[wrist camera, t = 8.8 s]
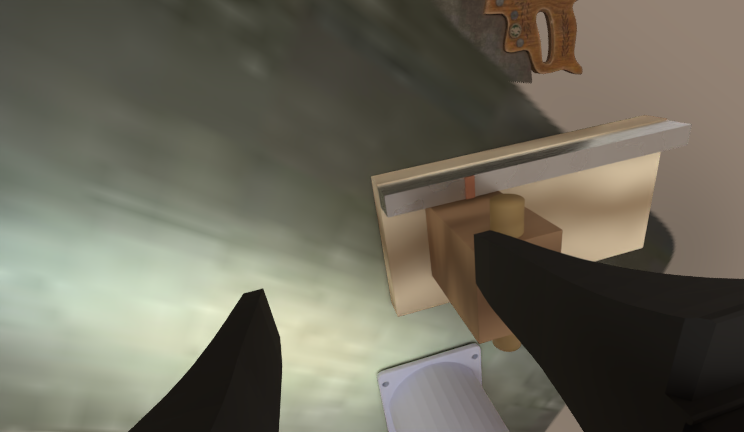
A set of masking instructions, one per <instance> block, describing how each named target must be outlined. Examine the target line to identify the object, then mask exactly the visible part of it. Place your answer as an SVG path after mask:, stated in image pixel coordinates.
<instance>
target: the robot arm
mask: <svg viewBox="0 0 744 432" xmlns="http://www.w3.org/2000/svg"><path fill="white" fill-rule="evenodd" d="M474 256H475V280H476V285H477V286H478V288H479V290H480V291H481V293H482V294H483V296H484V298H485V299H486V301H487V302H488V304H489V305H490V307H491V308H492V309H493V310H494V312H495V313H496V314H497V315H498V316H499V318H500V319H501V320H502V321H503V322H504V324H505V325H506V326H507V327H508V328H509V329H510V331H511V332H512V333H513V334H514V335H515V336H516V338H517V339H518V340H519V341H520V342H521V343H522V345H523V346H524V347H525V348H526V349H527V350H528V352H529V353H530V354H531V355H532V356H533V358H534V359H535V360H536V362H537V363H538V364H539V365H540V367H541V368H542V369H543V371H544V372H545V374H546V375H547V377H548V378H549V380H550V381H551V383H552V384H553V385H554V387H555V388H556V390H557V391H558V393H559V394H560V396H561V397H562V399H563V400H564V402H565V403H566V405H567V406H568V408H569V409H570V411H571V413H572V414H573V416H574V417H575V419H576V420H577V422H578V423H579V425H580V427H581V428H582V430H583V431H584V432H744V279H727V278H704V277H693V276H681V275H671V274H662V273H654V272H647V271H641V270H634V269H628V268H622V267H617V266H612V265H607V264H603V263H598V262H593V261H589V260H585V259H581V258H577V257H574V256H570V255H567V254H563V253H560V252H557V251H553V250H550V249H547V248H544V247H541V246H538V245H535V244H532V243H529V242H526V241H523V240H520V239H517V238H515V237H512V236H509V235H506V234H502V233H499V232H496V231H492V230H488V231H485V232H481V233H477V234H474ZM377 380H378V385H379V390H380V394H381V399H382V404H383V409H384V414H385V418H386V423H387V428H388V432H510V431H509V430H508V428H507V427H506V425H505V423H504V422H503V420H502V418H501V417H500V415H499V413H498V412H497V410H496V409H495V407H494V405H493V404H492V402H491V400H490V399H489V397H488V395H487V394H486V392H485V391H484V389H483V387H482V371H481V349H480V347H479V345H478V344H476V343H473V344H469V345H466V346H462V347H459V348H456V349H453V350H449V351H446V352H443V353H439V354H436V355H433V356H429V357H426V358H423V359H419V360H416V361H413V362H409V363H406V364H403V365H400V366H396V367H393V368H390V369H386V370H383V371H381V372H379V373H378V375H377ZM386 381H387V382H386ZM281 382H282V355H281V343H280V336H279V333H278V330H277V327H276V324H275V321H274V319H273V316H272V313H271V310H270V307H269V304H268V301H267V298H266V295H265V292H264V290H263V289H259V290H256V291H252V292H248V293H244V294H243V295H242V297H241V298H240V300H239V301H238V303H237V304H236V306H235V307H234V309H233V310H232V312H231V313H230V315H229V316H228V318H227V319H226V321H225V322H224V324H223V325H222V327H221V328H220V330H219V331H218V333H217V334H216V335H215V337H214V338H213V340H212V341H211V342H210V344H209V345H208V346H207V348H206V349H205V350H204V352H203V353H202V354H201V355H200V357H199V358H198V359H197V361H196V362H195V363H194V364H193V366H192V367H191V368H190V369H189V370H188V372H187V373H186V374H185V375H184V376H183V377H182V378H181V380H180V381H179V382H178V383H177V384H176V385H175V386H174V387H173V388H172V389H171V390H170V392H169V393H168V394H167V395H166V396H165V397H164V398H163V399H162V400H161V401H160V402H159V403H158V404H157V405H156V406H155V407H153V408H152V409H151V410H150V411H149V412H148V413H147V414H146V415H145V416H144V417H143V418H142V419H141V420H140V421H139V422H138V423H137V424H136V425H135V426H134V427H133V428H131V429H130V430H129V431H128V432H279V418H280V400H281Z"/></svg>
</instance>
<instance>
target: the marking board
mask: <svg viewBox="0 0 744 432" xmlns="http://www.w3.org/2000/svg"><path fill="white" fill-rule="evenodd" d="M691 126H692V124H687V123H681V122H674V121H668V120H667V119H666V118H660V117H654V116H647V115H643V116H638V117H634V118H629V119H625V120H620V121H616V122H611V123H607V124H603V125H598V126H594V127H589V128H585V129H580V130H576V131H571V132H567V133H562V134H558V135H553V136H549V137H545V138H540V139H536V140H531V141H527V142H522V143H518V144H513V145H509V146H504V147H500V148H495V149H491V150H487V151H482V152H478V153H473V154H469V155H464V156H460V157H455V158H451V159H446V160H442V161H438V162H433V163H429V164H424V165H420V166H415V167H411V168H406V169H402V170H397V171H393V172H388V173H384V174H380V175H375V176H371V181H372V187H373V193H374V199H375V205H376V211H377V217H378V223H379V229H380V235H381V241H382V247H383V253H384V260H385V266H386V272H387V278H388V284H389V290H390V296H391V302H392V305H393V307H394V309H395V311H396V314H397V316H398V317H399V316H403V315H406V314H410V313H414V312H417V311H421V310H424V309H428V308H431V307H435V306H438V305H442V304H445V303H449V302H450V301H449V300H448V298H447V297H446V295H445V294H444V292H443V291H442V289H441V288H440V287H439V285H438V284H437V282H436V281H435V279H434V278H433V276H432V271H431V262H430V252H429V242H428V232H427V222H426V213H425V209H426V208H430V207H434V206H438V205H442V204H446V203H450V202H455V201H459V200H463V199H471V198H475V196H479V195H484V194H488V193H492V192H496V191H500V192H501V193H503V194H517V195H520V196H522V197H523V198H524V199H525V207H526V208H528V209H529V210H531V211H533V212H534V213H536V214H538V215H539V216H541V217H542V218H544V219H546V220H547V221H549V222H551V223H552V224H554V225H556V226H557V227H559V228H561V229H562V230H563V233H562V246H561V253H563V254H567V255H570V256H574V257H577V258H581V259H585V260H589V261H593V262H594V261H598V260H601V259H605V258H608V257H612V256H615V255H619V254H622V253H626V252H629V251H633V250H636V249H640V248H643V244H644V238H645V233H646V228H647V223H648V217H649V212H650V207H651V201H652V196H653V190H654V185H655V180H656V175H657V169H658V164H659V159H660V153H661V151H665V150H669V149H674V148H678V147H682V146H686V145H687V144H688V140H689V135H690V131H691Z"/></svg>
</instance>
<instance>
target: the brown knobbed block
mask: <svg viewBox="0 0 744 432" xmlns="http://www.w3.org/2000/svg"><path fill="white" fill-rule="evenodd" d="M425 213H426V222H427V232H428V242H429V252H430V262H431V271H432V276H433V278H434V279H435V281H436V282H437V284H438V285H439V287H440V288H441V289H442V291H443V292H444V294H445V295H446V297H447V298H448V300H449V301H450V302H451V304H452V305H453V307H454V308H455V310H456V311H457V313H458V314H459V315H460V317H461V318H462V320H463V321H464V323H465V324H466V326H467V327H468V328H469V330H470V331H471V333H472V334H473V336H474V337H475V339H476V340H477V341H478V343H479V344H481V343H484V342H488V341H491V340H492V342H493V344H494V346H495V347H496V348H498V349H500V350H502V351H506V352H511V351H515V350H517V349H519V348H520V346H521V342H520V341H519V340H518V339H517V338H516V336H515V335H514V334H513V333H512V332H511V331H510V329H509V328H508V327H507V326H506V325H505V324H504V322H503V321H502V320H501V319H500V318H499V316H498V315H497V314H496V313H495V312H494V310H493V309H492V308H491V307H490V305H489V304H488V302H487V301H486V299H485V298H484V296H483V294H482V293H481V291H480V290H479V288H478V286H477V285H476V280H475V256H474V234H477V233H481V232H485V231H488V230H492V231H496V232H499V233H502V234H506V235H509V236H512V237H515V238H517V239H520V240H523V241H526V242H529V243H532V244H535V245H538V246H541V247H544V248H547V249H550V250H553V251H557V252H560V253H561V246H562V233H563V230H562V229H561V228H559V227H557V226H556V225H554V224H552V223H551V222H549V221H547V220H546V219H544V218H542V217H541V216H539V215H538V214H536V213H534V212H533V211H531V210H529V209H528V208H526V207H525V199H524V198H523V197H522V196H520V195H517V194H503V193H501V192H500V191H496V192H492V193H488V194H484V195H479V196H475V198H471V199H463V200H459V201H455V202H450V203H446V204H442V205H438V206H434V207H430V208H426V209H425Z"/></svg>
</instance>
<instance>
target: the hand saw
mask: <svg viewBox="0 0 744 432" xmlns="http://www.w3.org/2000/svg"><path fill="white" fill-rule="evenodd" d="M432 1H433V2H434V4H435V6H436V7H437V8H438V9H440V10H441V11H442V12H443V13H444V15H445V16H446V18H447V19H449V20H450V21H451V22H452V23H453V24H454V26H455V27H456V28H457V29H458V30H459V31H461V32H462V33H463V34H464V35H465V37H466V38H467V39H468V40H469V41H471V42H472V43H473V44H474V45H476V47H477V48H478V49H479V50H480V51H481V52H483V53H484V54H485V55H487V56H488V57H489V58H490V60H491V61H492V62H494V63H495V64H496V65H498V66H499V67H500V68H501V69H502V70H503V72H504V73H506V74H507V75H508V76H509V77H511V79H512V80H513V81H515V83H516V81H517V83H518V82H519V83H520V82H521V83H522V82H523V83H524V82H525V83H532V74H531V70H532V71H533V72H534V73H539V74H546V73H551V72H555V71H559V70H564V71H566V72H568V73H571V74H582V67H581V66H580V65H579V64H578V63H577V61H576V59H575V56H574V48H575V41H576V32H577V25H576V19H575V16H574V13H573V8H572V7H573V4H574V2H576V1H577V0H432ZM539 12H543V13H544V15H545V18H546V23H547V30H548V56H547V60H546V62H543V61H542V52H541V41H540V36H539V32H538V28H537V24H536V15H537V13H539Z"/></svg>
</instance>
